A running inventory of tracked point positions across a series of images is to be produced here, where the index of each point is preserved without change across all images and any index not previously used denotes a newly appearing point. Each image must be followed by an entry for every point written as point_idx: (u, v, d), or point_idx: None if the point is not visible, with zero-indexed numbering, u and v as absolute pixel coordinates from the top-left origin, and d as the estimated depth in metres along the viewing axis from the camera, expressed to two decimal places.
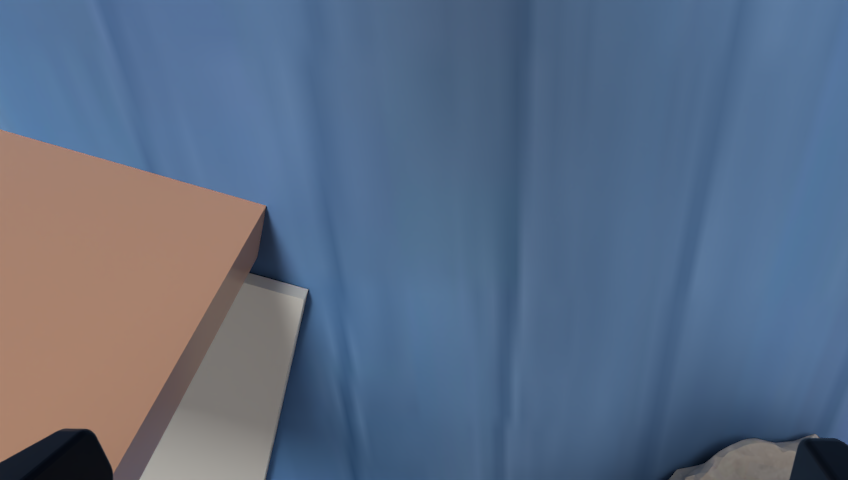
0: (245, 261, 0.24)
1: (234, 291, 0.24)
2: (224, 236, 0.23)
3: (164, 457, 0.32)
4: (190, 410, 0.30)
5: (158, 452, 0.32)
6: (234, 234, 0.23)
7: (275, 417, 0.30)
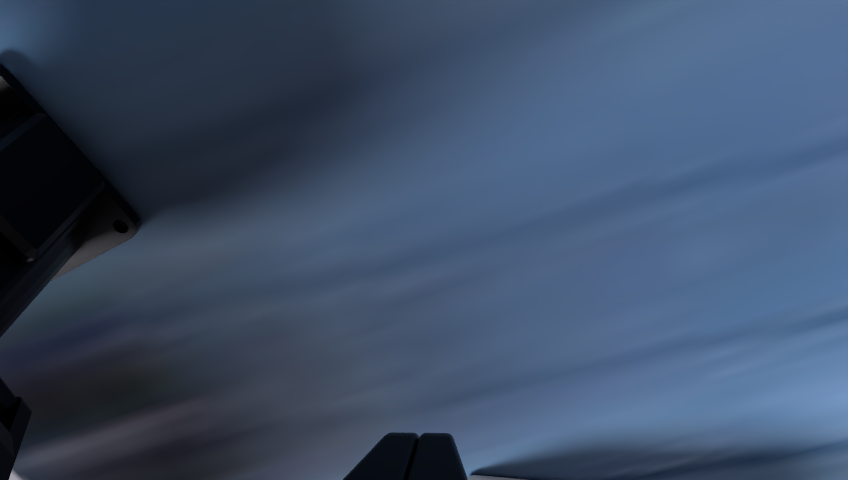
0: None
1: None
2: None
3: None
4: None
5: None
6: None
7: None
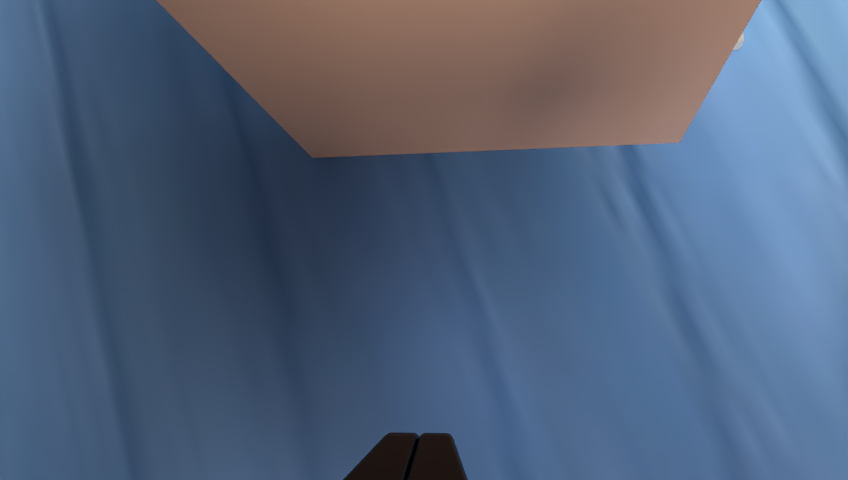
0: None
1: None
2: (311, 135, 0.23)
3: None
4: None
5: None
6: (306, 138, 0.23)
7: None
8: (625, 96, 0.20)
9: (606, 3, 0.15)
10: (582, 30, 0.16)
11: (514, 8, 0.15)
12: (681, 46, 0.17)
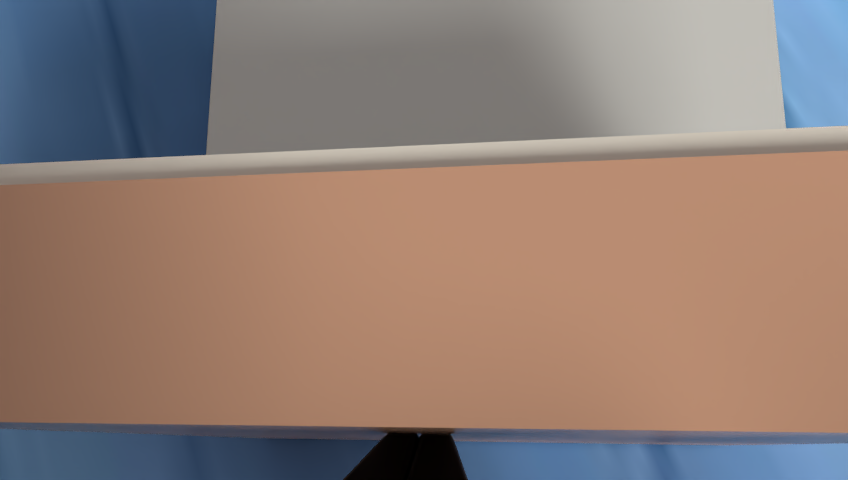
0: None
1: None
2: None
3: None
4: (325, 74, 0.22)
5: None
6: None
7: (212, 109, 0.22)
8: None
9: None
10: (611, 439, 0.11)
11: None
12: (749, 442, 0.12)
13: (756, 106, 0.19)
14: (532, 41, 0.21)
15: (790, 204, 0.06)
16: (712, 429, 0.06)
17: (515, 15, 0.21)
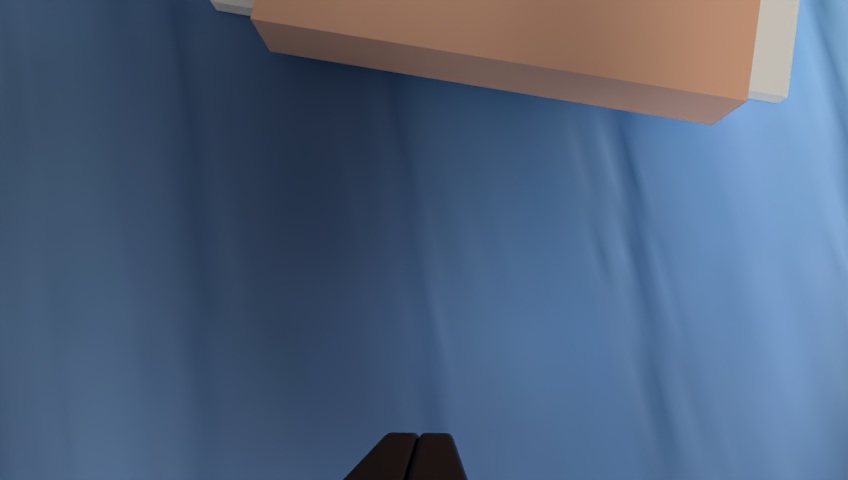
0: None
1: None
2: None
3: None
4: None
5: None
6: None
7: None
8: None
9: None
10: None
11: None
12: None
13: None
14: None
15: None
16: None
17: None
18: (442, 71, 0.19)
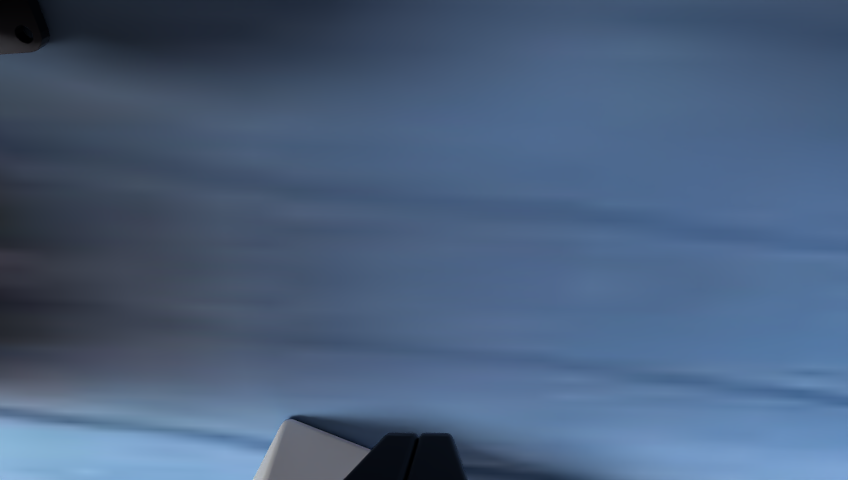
0: None
1: None
2: None
3: None
4: None
5: None
6: None
7: None
8: None
9: None
10: None
11: None
12: None
13: None
14: None
15: None
16: None
17: None
18: None
